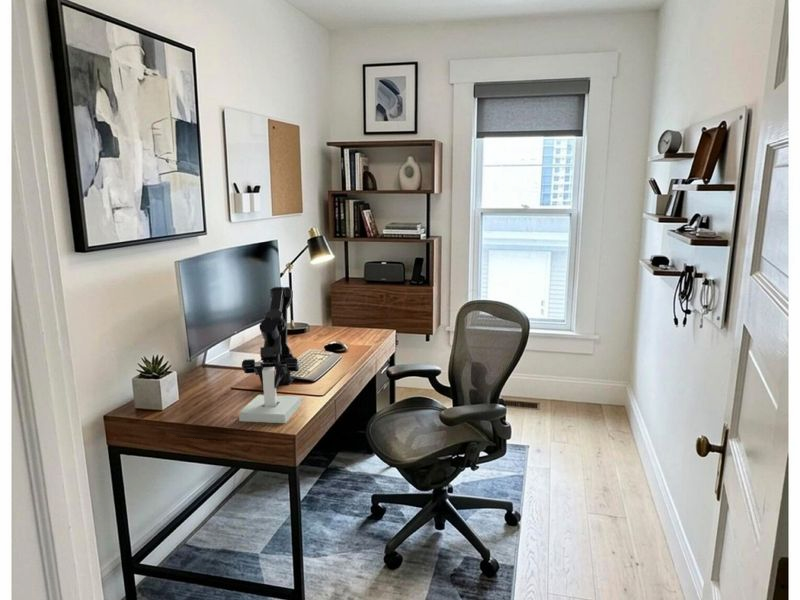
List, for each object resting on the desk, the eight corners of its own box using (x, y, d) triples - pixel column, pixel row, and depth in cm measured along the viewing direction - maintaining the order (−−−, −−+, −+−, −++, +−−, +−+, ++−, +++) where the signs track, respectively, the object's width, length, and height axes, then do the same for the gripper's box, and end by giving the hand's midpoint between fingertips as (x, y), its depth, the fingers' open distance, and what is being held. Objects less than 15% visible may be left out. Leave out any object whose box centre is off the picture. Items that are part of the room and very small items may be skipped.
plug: (266, 403, 184) (264, 367, 182) (277, 402, 185) (274, 366, 182) (264, 407, 181) (262, 370, 178) (275, 406, 181) (273, 370, 179)
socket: (259, 402, 192) (258, 394, 192) (301, 404, 190) (301, 396, 189) (239, 421, 177) (238, 412, 176) (285, 423, 174) (284, 414, 174)
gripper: (240, 337, 181) (235, 379, 173) (295, 335, 183) (293, 376, 174) (247, 352, 191) (242, 393, 182) (299, 350, 192) (298, 390, 183)
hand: (269, 388), depth 180 cm, fingers closed on plug, 4 cm apart
